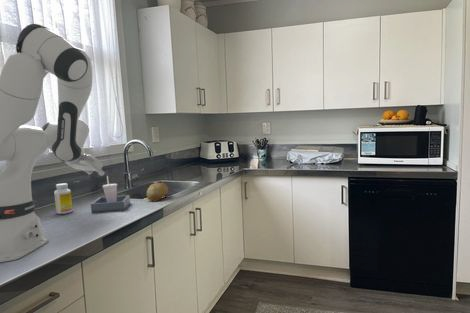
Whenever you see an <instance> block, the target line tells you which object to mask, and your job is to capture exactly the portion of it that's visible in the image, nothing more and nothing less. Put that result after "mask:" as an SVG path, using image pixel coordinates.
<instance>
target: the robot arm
mask: <svg viewBox="0 0 470 313" xmlns="http://www.w3.org/2000/svg"><path fill="white" fill-rule="evenodd" d="M15 50H16V53H12V54H10V55H9V56H8V58H7V59H6V61H5V63H4V65H3V67H2V70H1V72H0V162H4V161H5V165H4V167H3V169H2V170H1V171H0V263H5V262H11V261H14V260H18V259H21V258H23V257H24V256H26V255H28V254H30V253H31V252H33V251H35V250H37V249H38V248H40V247H42V246H43V245H46V244H47V243H48V242H49V241H48V240H49V239H48V238H46V237H44V233H43V228H42V223H41V222H42V221H41V218H40V217H39V216H38V215H37V214H36V213H35V211H36V209H35V208H36V207H35V200H34V199H33V196H32V173H33V170H34V167H35V164H36V163H37V161H38V160H39V158H40V157H41V156H42V155H43V154H44V153H45V152H46V151H47V149H49V150H50V151H51V152H52V153H53V155H54V156H55V157H56V158H57V159H58V160H59V161H60V162H62V163H65V164H66V165H68V166H69V167H71V168H72V169H74V170H80V171H83V172H84V173H86V174H88V175H92V174H93V173H94V172H96V173H98V175H99V176H101V177H102V176H104V175H105V174H106V173H105V171H103V169H102V168H103V167H104V164H103V162H102V161H100V160H99V159H98V158H96V157H95V156H94V155H92V154H89V153H85V149H84V145H85V144H86V141H87V138H88V137H89V133H90V128H89V126H88V125H87V124H86V123H85V122H84V121H83V120H81V119H80V116H81V113H82V112H83V110H84V108H85V106H86V104H87V102H88V101H89V98H90V95H91V91H92V87H93V66H92V59H91V56H90V55H89V53H88V52H86V51H85V50H84V49H82V48H80V47H79V48H78V47H75V46H74V45H73V44H71V43H70V42H69V41H68V40H66V38H65V37H63V36H62V35H60V34H58V33H56V32H54V31H52V30H51V29H50V28H49V27H46V26H44V25H42V24H38V23H30V24H28V25H26V26H25V27H23V29H22V30H21V31H20V33H19V34H18V37H17V42H16V45H15ZM49 73H50V74H51V75H54V76H55V77H57V97H58V98H57V100H58V101H57V102H58V103H57V105H58V107H57V109H58V111H57V112H58V113H57V122H53V121H49V122H46V123H45V124H44V125H43V126H42V127H39V126H33V125H26V124H28V123H29V122H31V121H32V120H33V119H34V117H35V115H36V112H37V108H38V105H39V101H40V98H41V94H42V90H43V86H44V80H45V77H47V75H48V74H49Z"/></svg>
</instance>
